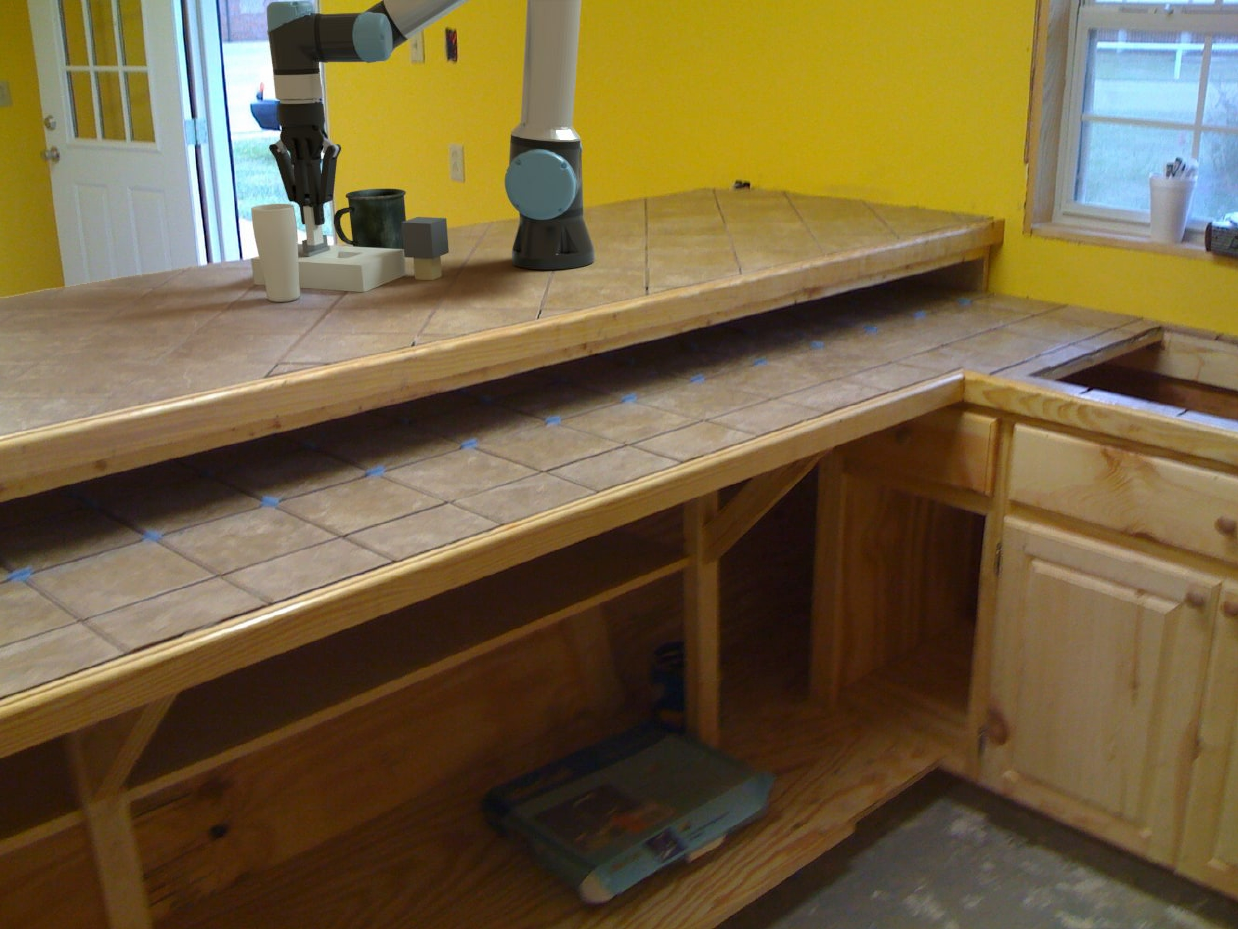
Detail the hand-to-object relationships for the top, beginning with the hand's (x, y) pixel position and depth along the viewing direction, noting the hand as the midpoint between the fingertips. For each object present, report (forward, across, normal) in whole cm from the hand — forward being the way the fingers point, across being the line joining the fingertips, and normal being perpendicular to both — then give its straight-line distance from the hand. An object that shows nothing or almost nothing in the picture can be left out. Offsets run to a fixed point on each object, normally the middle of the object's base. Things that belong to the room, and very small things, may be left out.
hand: (315, 243), depth 205 cm
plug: (+7, -17, -8) cm, 20 cm away
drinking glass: (+7, -2, +13) cm, 15 cm away
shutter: (+2, +4, -2) cm, 5 cm away
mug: (+7, +2, -21) cm, 22 cm away
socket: (+7, -1, -2) cm, 7 cm away
